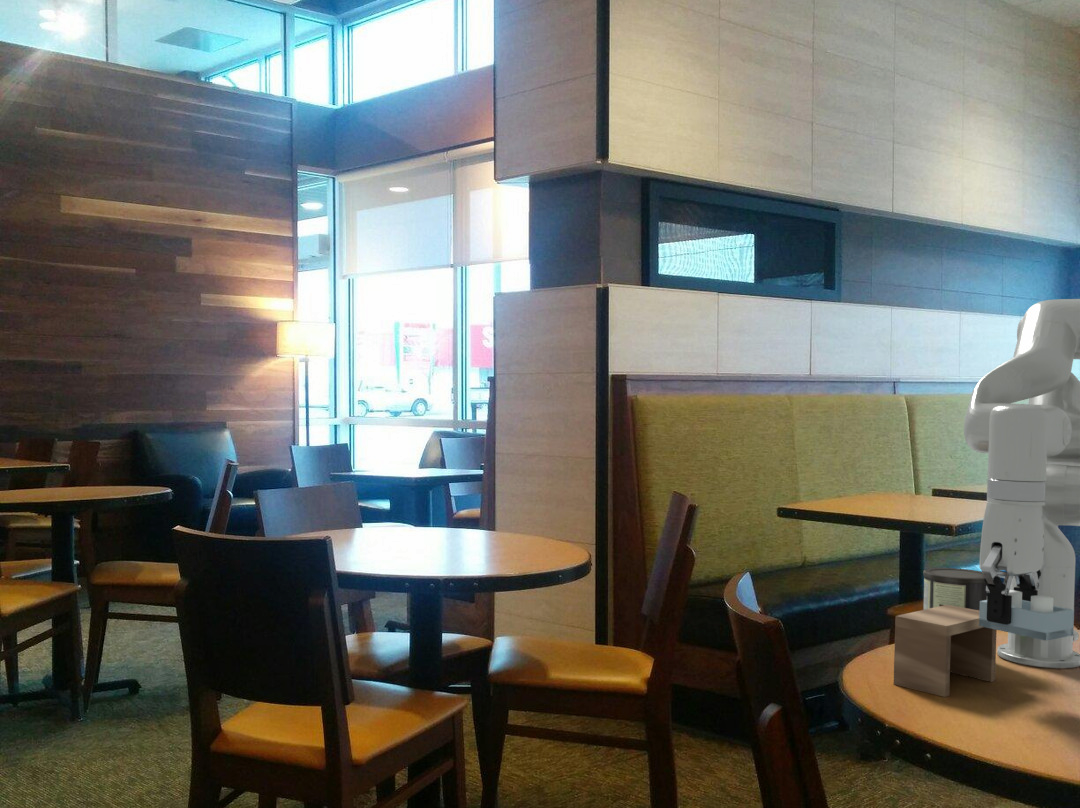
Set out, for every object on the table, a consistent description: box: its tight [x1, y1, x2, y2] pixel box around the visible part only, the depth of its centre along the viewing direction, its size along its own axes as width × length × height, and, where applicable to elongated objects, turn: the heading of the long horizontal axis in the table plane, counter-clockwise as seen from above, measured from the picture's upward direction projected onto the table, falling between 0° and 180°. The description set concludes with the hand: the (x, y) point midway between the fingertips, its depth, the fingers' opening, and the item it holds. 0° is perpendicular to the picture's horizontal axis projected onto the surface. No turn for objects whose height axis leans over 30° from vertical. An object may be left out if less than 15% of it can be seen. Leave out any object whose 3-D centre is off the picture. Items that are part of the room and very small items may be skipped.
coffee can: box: [923, 567, 987, 610], centre depth 172 cm, size 10×10×14 cm
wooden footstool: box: [893, 605, 998, 698], centre depth 158 cm, size 14×8×10 cm, turn 130°
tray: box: [979, 590, 1075, 641], centre depth 148 cm, size 6×10×5 cm, turn 34°
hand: (1011, 618), depth 150 cm, fingers closed on tray, 7 cm apart
